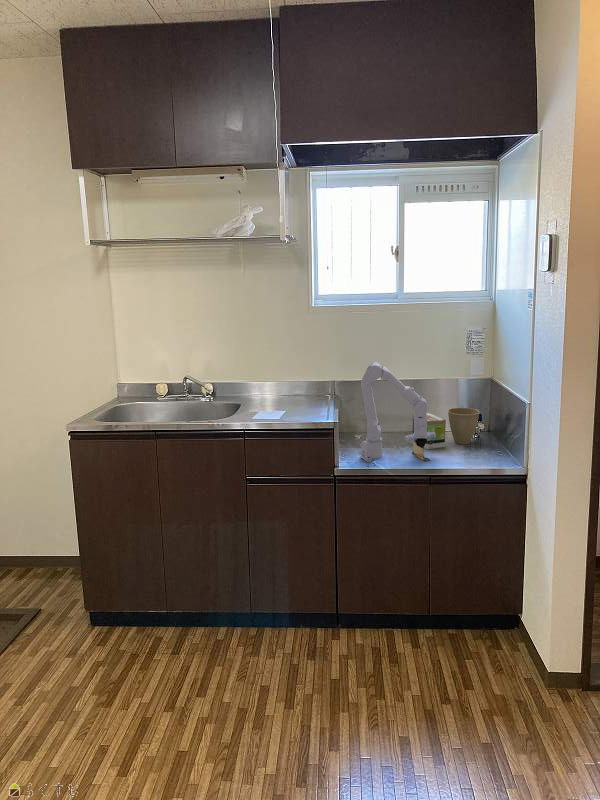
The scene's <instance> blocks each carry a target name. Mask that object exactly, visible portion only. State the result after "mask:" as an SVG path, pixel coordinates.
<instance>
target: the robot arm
mask: <svg viewBox="0 0 600 800" xmlns="http://www.w3.org/2000/svg"><path fill="white" fill-rule="evenodd" d="M379 378H380V380H381V381H387V382H388V383H389V384H391V385H392V386H393V387H394V388H395V389H397V390H398V391H399V392H400V395H399V396H400V397H401V398H402V399H403V400H404V401H406V402H407V403H408V404H409V405H410V406H412V407H413V411H414V414H413V415H414V434H413V433H411V434H408V435H405V436H404V440H405V441H406V442H410V441H413V440H415V442H416V443H415V444H417V445H419V446H421V447H423V449H424V446H425V444H426V442H427V439H426V438H429V437H436V433H435V432H427V413H428V412H427V410H428V403H427V400H426V399H425V398H424V397H423V396H422V395H421V394H420V395H419V393H417V392H416V391H415V388H414V387H413V386H412V387H411V386H410V385H409V386H408V385H404V383H403V382H401V380H400V379H399V378H398V377H396V375H394V373H392V371H390V370H389V369H388V367H386V366H385V365H383V364H382V363H381V362H379V361H374V362H371V363H370V365H368V367H367V368H366V370H365V372H364V374H363V376H362V379H361V380H360V388H361V395H362V399H363V400H362V401H363V404H364V405H363V407H364V412H365V417H366V423H367V424H366V428H367V431H366V440H362V441H361V442H360V456H359V458H361V459H363V460H364V461H365V462H367V463H370V462H375V459H381V458H382V457H383V437H382V432H383V428H382V426H381V424H380V422H379V419H378V415H377V408H376V403H375V399H374V391H373V384H374V382H375V381H377V380H379Z"/></svg>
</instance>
